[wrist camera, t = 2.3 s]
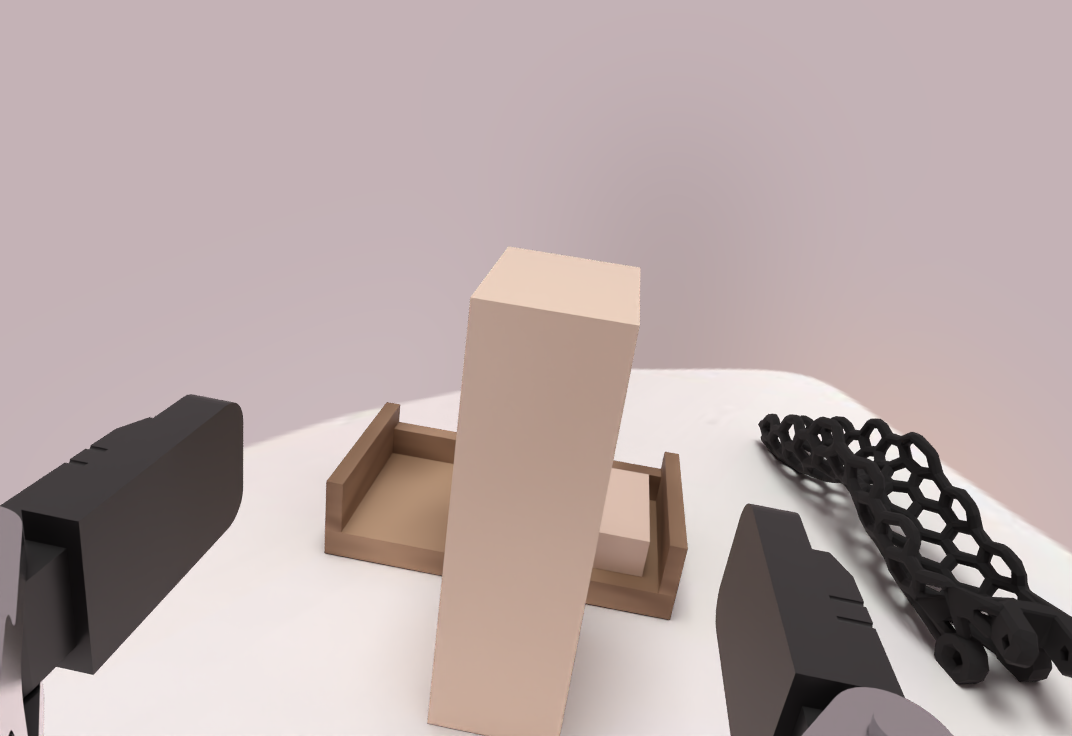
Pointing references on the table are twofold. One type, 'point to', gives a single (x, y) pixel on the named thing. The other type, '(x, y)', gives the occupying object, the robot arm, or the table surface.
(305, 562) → the table surface
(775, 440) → the decorative element
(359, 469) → the wooden open-ended tray
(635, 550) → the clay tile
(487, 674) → the beige wooden block
